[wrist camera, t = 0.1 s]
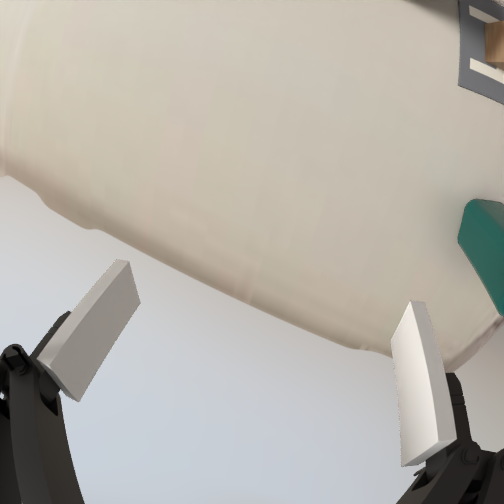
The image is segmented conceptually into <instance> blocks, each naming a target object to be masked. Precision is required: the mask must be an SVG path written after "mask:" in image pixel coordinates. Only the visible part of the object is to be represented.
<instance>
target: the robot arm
mask: <svg viewBox="0 0 504 504" xmlns="http://www.w3.org/2000/svg"><path fill="white" fill-rule="evenodd" d="M139 305H140V299H139V296H138V293H137V289H136V285H135V282H134V278H133V274H132V270H131V267H130V263H129V261H124V260H118V259H117V260H116V261H115V262H114V263H113V264H112V265H111V266H110V267H109V269H108V270H107V271H106V272H105V273H104V274H103V275H102V276H101V278H100V279H99V280H98V281H97V282H96V284H95V285H94V286H93V287H92V288H91V289H90V291H89V292H88V293H87V294H86V295H85V296H84V298H83V299H82V300H81V302H80V303H79V304H78V305H77V306H76V308H75V309H74V310H73V311H72V312H70V311H68V312H66V313H65V314H63V315H62V316H60V317H59V318H58V320H57V321H56V322H55V323H54V325H53V327H51V328H50V330H49V331H48V333H47V334H46V335H45V336H44V338H43V339H42V340H41V342H40V343H39V344H38V346H37V347H36V348H35V350H34V351H33V352H32V354H31V355H30V356H28V355H27V353H26V352H25V351H24V349H23V348H22V346H21V345H19V344H12V345H10V346H8V347H7V348H6V349H4V351H3V353H2V354H1V356H0V393H1V392H2V393H3V394H4V398H3V399H1V398H0V504H85V503H84V500H83V497H82V494H81V491H80V488H79V484H78V481H77V477H76V475H75V470H74V467H73V462H72V458H71V454H70V450H69V445H68V440H67V436H66V430H65V424H64V419H63V412H62V405H61V398H60V395H59V393H58V392H59V391H60V389H61V390H62V391H63V392H64V394H65V395H66V396H68V397H70V398H71V399H73V400H75V401H77V402H79V401H80V400H81V398H82V396H83V394H84V393H85V391H86V389H87V387H88V386H89V384H90V382H91V381H92V379H93V377H94V376H95V374H96V372H97V371H98V369H99V367H100V365H101V364H102V362H103V361H104V359H105V357H106V356H107V354H108V353H109V351H110V349H111V348H112V346H113V345H114V343H115V341H116V340H117V338H118V337H119V335H120V333H121V332H122V330H123V329H124V327H125V326H126V324H127V323H128V321H129V320H130V318H131V317H132V315H133V314H134V312H135V310H136V309H137V307H138V306H139ZM390 342H391V348H392V355H393V361H394V369H395V377H396V386H397V395H398V407H399V420H400V438H401V466H402V467H404V466H414V465H419V464H421V463H422V462H424V461H425V460H426V467H424V468H423V469H421V470H419V471H417V472H416V473H415V474H414V476H416V475H418V474H419V475H418V477H417V478H416V479H415V481H414V482H413V483H412V485H411V486H410V487H409V489H408V490H407V491H406V492H405V493H404V495H403V496H402V497H401V498H400V500H399V501H398V502H397V503H396V504H504V449H502V450H500V451H499V452H497V453H496V452H490V451H485V450H481V449H480V446H479V445H478V444H477V443H476V442H474V441H472V438H471V434H470V428H469V422H468V417H467V411H466V406H465V405H464V404H465V401H464V396H463V392H462V387H461V384H460V381H459V380H458V378H457V377H456V375H455V373H445V371H444V367H443V363H442V359H441V355H440V351H439V347H438V344H437V340H436V337H435V333H434V330H433V327H432V323H431V320H430V317H429V314H428V311H427V308H426V305H425V302H420V301H410V302H409V304H408V306H407V309H406V311H405V313H404V315H403V317H402V319H401V321H400V323H399V325H398V327H397V329H396V331H395V333H394V335H393V337H392V339H391V341H390Z"/></svg>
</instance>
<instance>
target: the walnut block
mask: <svg viewBox="0 0 504 504" xmlns="http://www.w3.org/2000/svg"><path fill="white" fill-rule="evenodd" d="M484 25H485V62H487V63H489V64H491V65H493V66H495V67H497V68H499V69H501V70H503V71H504V21H498V22H493V23H487V24H484Z"/></svg>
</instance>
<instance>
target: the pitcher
mask: <svg viewBox="0 0 504 504" xmlns="http://www.w3.org/2000/svg"><path fill="white" fill-rule="evenodd" d="M458 244H459V245H460V247H461V249H462V250H463V252H464V253H465V255H466V256H467V258H468V260H469V261H470V263H471V264H472V266H473V268H474V269H475V271H476V273H477V274H478V276H479V278H480V280H481V281H482V283H483V285H484V287H485V288H486V290H487V292H488V294H489V296H490V298H491V300H492V301H493V303H494V305H495V307H496V309H497V311H498V313H499V314H500V315H501V316H503V317H504V205H502V204H501V203H500V202H494V201H487V200H480V199H474V200H471V201H470V202H469V203H468V204H467V205H466V207H465V210H464V214H463V219H462V223H461V227H460V231H459V234H458Z"/></svg>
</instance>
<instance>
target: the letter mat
mask: <svg viewBox="0 0 504 504" xmlns="http://www.w3.org/2000/svg"><path fill="white" fill-rule="evenodd" d="M458 1H459V16H460V64H459V80H458V86H461V87H464V88H466V89H469V90H472V91H474V92H477V93H479V94H481V95H484V96H486V97H488V98H491V99H493V100H495V101H497V102H500V103H502V104H504V71H503V70H501V69H499V68H497V67H495V66H493V65H491V64H489V63H487V62H485V25H484V24H487V23H493V22H498V21H504V7H503V6H501V5H499V4H497V3H496V2H494V1H492V0H458Z"/></svg>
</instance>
